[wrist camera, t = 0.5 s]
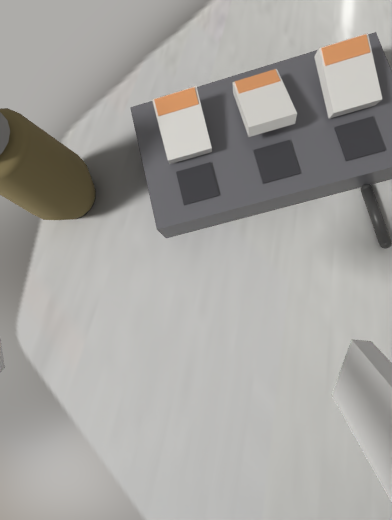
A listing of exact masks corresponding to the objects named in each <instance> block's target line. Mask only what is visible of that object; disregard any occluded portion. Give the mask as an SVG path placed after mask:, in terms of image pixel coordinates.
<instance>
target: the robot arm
mask: <svg viewBox="0 0 392 520" xmlns="http://www.w3.org/2000/svg"><path fill="white" fill-rule="evenodd" d="M4 368H5V366H4V360H3V353H2V346H1V340H0V372H1V371H2V370H3V369H4ZM331 396H332V398H333V399H334V401H335V403H336V405H337V406H338V408H339V410H340V412H341V414H342V415H343V417H344V419H345V421H346V422H347V424H348V426H349V428H350V430H351V431H352V433H353V435H354V437H355V438H356V440H357V442H358V444H359V446H360V447H361V449H362V451H363V453H364V454H365V456H366V458H367V460H368V462H369V463H370V465H371V467H372V469H373V470H374V472H375V474H376V476H377V478H378V479H379V481H380V483H381V485H382V486H383V488H384V490H385V492H386V494H387V495H388V497H389V499H390V501H391V502H392V363H391V362H390V361H389V360H388V359H387V358H386V357H385V355H384V354H383V353H382V352H381V351H380V350H379V349H378V348H377V347H376V346H375V345H374V344H373V343H372V342H371V341H362V340H351V342H350V345H349V348H348V351H347V354H346V356H345V359H344V362H343V365H342V367H341V370H340V373H339V376H338V379H337V381H336V384H335V387H334V390H333V392H332V395H331Z"/></svg>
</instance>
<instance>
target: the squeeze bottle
mask: <svg viewBox="0 0 392 520" xmlns="http://www.w3.org/2000/svg"><path fill="white" fill-rule="evenodd" d="M95 193H96V191H95V188H94V184H93V181H92V179H91V176H90V173H89V170H88V168H87V165H86V164H85V163H84V161H83V160H82V159H81V158H80V157H79V156H78V155H77V154H75V153H74V152H73V151H71V150H70V149H68V148H67V147H66V146H64V145H63V144H62V143H60V142H59V141H57V140H56V139H55V138H53V137H52V136H50V135H49V134H47V133H46V132H45V131H43V130H42V129H40V128H39V127H37V126H36V125H35V124H33V123H32V122H31V121H29V120H28V119H27V118H25V117H24V116H22V115H21V114H19V113H17V112H15V111H12V110H10V109H0V195H2V196H3V197H5V198H7V199H9V200H10V201H12V202H13V203H15V204H17V205H19V206H20V207H22V208H23V209H25V210H27V211H28V212H30V213H32V214H33V215H35V216H38V217H39V218H42V219H44V220H68V219H76V218H79V217H81V216H83V215H84V214H86V213H87V212H88V211H89V210H90V209H91V207H92V205H93V203H94V201H95Z"/></svg>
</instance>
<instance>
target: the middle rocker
mask: <svg viewBox="0 0 392 520" xmlns="http://www.w3.org/2000/svg"><path fill="white" fill-rule="evenodd" d="M233 94H234V97H235V100H236V103H237V105H238V108H239V111H240V114H241V117H242V120H243V122H244V125H245V128H246V131H247V134H248V137H251V136H254V135H258V134H261V133H265V132H268V131H272V130H275V129H279V128H282V127H286V126H289V125H293V124H295V122H296V117H297V112H296V110H295V107H294V105H293V103H292V101H291V99H290V96H289V94H288V92H287V90H286V88H285V85H284V83H283V81H282V79H281V77H280V74H279V72H278V70H277V69H274V70H270V71H267V72H264V73H261V74H257V75H254V76H251V77H248V78H244V79H241V80H238V81H235V82H233Z"/></svg>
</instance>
